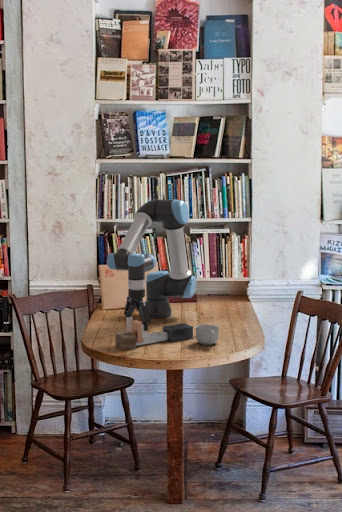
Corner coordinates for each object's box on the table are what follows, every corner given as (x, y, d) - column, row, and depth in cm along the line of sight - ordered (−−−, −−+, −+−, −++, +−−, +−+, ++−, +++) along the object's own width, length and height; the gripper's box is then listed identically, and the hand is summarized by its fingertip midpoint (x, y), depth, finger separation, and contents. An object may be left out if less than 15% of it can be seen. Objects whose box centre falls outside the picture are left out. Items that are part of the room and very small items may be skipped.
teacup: (194, 340, 344) (194, 323, 343) (217, 339, 345) (217, 323, 344) (197, 348, 331) (198, 331, 329) (222, 348, 332) (222, 330, 330)
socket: (115, 346, 335) (115, 333, 334) (127, 344, 338) (126, 331, 337) (124, 350, 328) (124, 337, 327) (135, 348, 331) (135, 335, 330)
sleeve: (162, 338, 348) (162, 326, 347) (183, 334, 354) (183, 323, 354) (171, 342, 342) (171, 330, 341) (192, 338, 348) (192, 326, 347)
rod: (122, 345, 335) (122, 322, 334) (174, 335, 350) (174, 314, 349) (129, 348, 330) (128, 325, 329) (181, 338, 345) (181, 316, 344)
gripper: (115, 284, 340) (116, 329, 344) (143, 294, 320) (144, 341, 323) (130, 282, 344) (130, 327, 348) (158, 292, 324) (158, 339, 327)
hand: (137, 334), depth 335 cm, fingers open, 13 cm apart
